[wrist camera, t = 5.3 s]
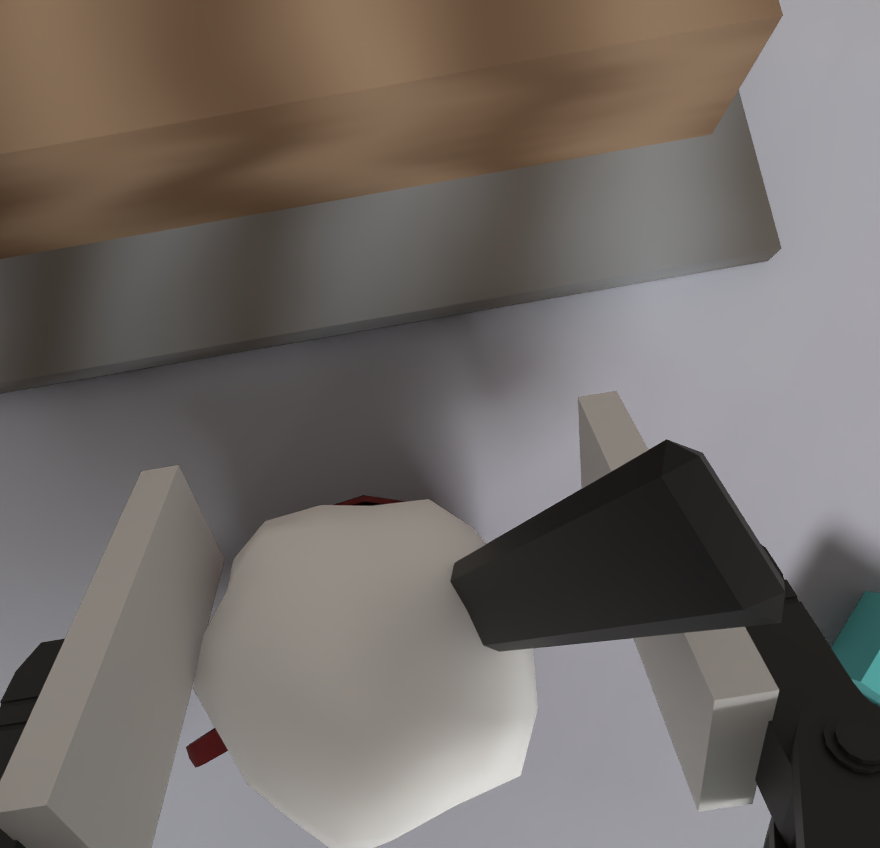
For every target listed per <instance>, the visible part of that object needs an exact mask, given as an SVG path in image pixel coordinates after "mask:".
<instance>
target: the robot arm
mask: <svg viewBox="0 0 880 848" xmlns="http://www.w3.org/2000/svg"><path fill="white" fill-rule="evenodd" d="M578 411H579V436H580V460H581V485H582V488H584V487H586V486H587V485H589V484H591V483H593V482H594V481H596V480H598V479H599V478H601V477H603V476H605V475H606V474H608V473H610V472H612V471H613V470H615V469H617V468H618V467H620V466H622V465H624V464H625V463H627V462H629V461H630V460H632V459H634V458H636V457H637V456H639V455H641V454H642V453H644V452H646V451H648V448H647V446H646V444H645V443H644V441H643V439H642V437H641V435H640V433H639V432H638V430H637V428H636V426H635V424H634V422H633V421H632V419H631V417H630V415H629V413H628V411H627V410H626V408H625V406H624V404H623V402H622V400H621V399H620V397H619V395H618V393H617V391H613V392H607V393H601V394H595V395H589V396H583V397H578ZM761 546H762V545H761ZM762 547H763V549H764V550H765V552H766V553H767V555H768V557H769V558H770V560H771V561H772V563H773V564H774V566H775V568H776V569H777V571H778V572H779V574H780V576H781V577H782V579H783V580H784V578H783V574H782V572H781V571H780V569H779V568H778V566H777V564H776V563H775V561H774V560H773V558H772V557H771V555H770V554H769V552H768V551H767V549H766V548H765V547H764V546H762ZM223 563H224V558H223V556H222V554H221V551H220V549H219V547H218V545H217V543H216V541H215V539H214V537H213V535H212V533H211V531H210V529H209V527H208V525H207V522H206V520H205V518H204V516H203V514H202V512H201V510H200V508H199V506H198V504H197V502H196V500H195V498H194V496H193V493H192V491H191V489H190V487H189V485H188V483H187V481H186V479H185V477H184V475H183V473H182V471H181V469H180V467H179V465H175V466H169V467H163V468H157V469H151V470H145V471H141V473H140V476H139V478H138V480H137V482H136V484H135V487H134V489H133V491H132V493H131V495H130V498H129V500H128V502H127V504H126V506H125V508H124V511H123V513H122V515H121V517H120V519H119V522H118V524H117V526H116V528H115V530H114V533H113V535H112V537H111V539H110V541H109V544H108V546H107V548H106V550H105V552H104V555H103V557H102V559H101V561H100V563H99V566H98V568H97V570H96V572H95V574H94V576H93V579H92V581H91V583H90V585H89V587H88V590H87V592H86V594H85V596H84V598H83V601H82V603H81V605H80V607H79V609H78V612H77V614H76V616H75V618H74V620H73V623H72V625H71V627H70V629H69V631H68V634H67V636H66V638H65V639H60V640H54V641H48V642H42V643H41V644H40V645H39V646H38V647H37V648H36V649H35V650H34V651H33V653H32V654H31V655H30V656H29V657H28V658H27V659H26V660H25V662H24V663H23V664H22V665H21V666H20V667H19V668H18V670H17V671H16V672H15V674H14V676H13V678H12V680H11V682H10V684H9V686H8V688H7V690H6V692H5V694H4V696H3V698H2V700H1V707H0V848H152V844H153V840H154V836H155V832H156V828H157V824H158V820H159V816H160V813H161V809H162V805H163V801H164V797H165V793H166V789H167V785H168V781H169V777H170V773H171V769H172V765H173V761H174V757H175V753H176V749H177V745H178V741H179V737H180V733H181V729H182V725H183V721H184V717H185V714H186V710H187V706H188V702H189V698H190V694H191V690H192V686H193V682H194V678H195V674H196V670H197V665H198V660H199V655H200V650H201V645H202V640H203V635H204V633H205V631H206V629H207V626H208V622H209V618H210V615H211V611H212V607H213V603H214V599H215V595H216V591H217V587H218V583H219V579H220V575H221V571H222V567H223ZM784 585H785V599H784V607H783V614H782V622H781V623H776V624H766V625H757V626H747V627H737V628H727V629H717V630H708V631H698V632H688V633H678V634H668V635H658V636H649V637H639V638H634V641H635V644H636V646H637V649H638V652H639V654H640V657H641V660H642V662H643V665H644V668H645V670H646V673H647V676H648V678H649V681H650V684H651V686H652V689H653V692H654V694H655V697H656V700H657V703H658V705H659V708H660V711H661V713H662V716H663V719H664V721H665V724H666V727H667V729H668V732H669V735H670V737H671V740H672V743H673V745H674V748H675V751H676V753H677V756H678V759H679V761H680V764H681V767H682V770H683V772H684V775H685V778H686V780H687V783H688V786H689V788H690V791H691V794H692V796H693V799H694V802H695V804H696V807H697V810H698V812H701V811H707V810H714V809H721V808H727V807H734V806H740V805H747V804H752V803H753V799H754V795H755V791H756V787H757V785H758V787H759V789H760V792H761V794H762V796H763V798H764V800H765V803H766V805H767V807H768V809H769V811H770V814H771V816H772V817H771V820H770V824H769V828H768V831H767V835H766V839H765V843H764V848H880V707H879V706H878V705H876V704H874V703H872V702H870V701H869V700H868V699H867V698H866V697H865V696H864V695H863V694H862V692H861V691H860V690H859V689H858V688H857V686H856V685H855V684H854V682H853V681H852V679H851V678H850V676H849V675H848V673H847V672H846V670H845V669H844V667H843V666H842V664H841V663H840V661H839V659H838V658H837V656H836V655H835V653H834V652H833V650H832V649H831V647H830V646H829V644H828V643H827V641H826V640H825V638H824V636H823V635H822V633H821V632H820V630H819V629H818V627H817V626H816V624H815V623H814V621H813V620H812V618H811V617H810V615H809V613H808V612H807V610H806V609H805V607H804V606H803V604H802V603H801V602H799V601H798V599H797V595H796V594H795V592H794V591H793V589H792V587H791V586H790V584H789V583H788V581H787V580H784Z"/></svg>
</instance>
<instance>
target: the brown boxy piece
mask: <svg viewBox="0 0 880 848" xmlns="http://www.w3.org/2000/svg"><path fill="white" fill-rule="evenodd" d="M782 16H783V14H782V11H781V7H780V4H779V0H0V393H4V392H10V391H16V390H22V389H27V388H33V387H39V386H45V385H51V384H56V383H62V382H68V381H74V380H80V379H85V378H91V377H97V376H103V375H109V374H114V373H120V372H126V371H132V370H138V369H143V368H149V367H155V366H161V365H167V364H172V363H178V362H184V361H190V360H196V359H201V358H207V357H213V356H219V355H225V354H230V353H236V352H242V351H248V350H254V349H259V348H265V347H271V346H277V345H283V344H288V343H294V342H300V341H306V340H312V339H317V338H323V337H329V336H335V335H341V334H346V333H352V332H358V331H364V330H370V329H375V328H381V327H387V326H393V325H399V324H405V323H410V322H416V321H422V320H428V319H434V318H439V317H445V316H451V315H457V314H463V313H468V312H474V311H480V310H486V309H492V308H497V307H503V306H509V305H515V304H521V303H526V302H532V301H538V300H544V299H550V298H555V297H561V296H567V295H573V294H579V293H584V292H590V291H596V290H602V289H608V288H613V287H619V286H625V285H631V284H637V283H642V282H648V281H654V280H660V279H666V278H671V277H677V276H683V275H689V274H695V273H700V272H706V271H712V270H718V269H724V268H729V267H735V266H741V265H747V264H753V263H758V262H764V261H768V260H769V259H770V258H772V257H773V256H774V255H775V254H776V253H777V252H778V251H779V250H780V249H781V246H780V242H779V238H778V234H777V231H776V227H775V223H774V220H773V216H772V212H771V208H770V205H769V201H768V197H767V194H766V190H765V186H764V183H763V179H762V175H761V171H760V168H759V164H758V160H757V157H756V153H755V149H754V146H753V142H752V138H751V134H750V131H749V127H748V123H747V120H746V116H745V112H744V109H743V105H742V101H741V97H740V94H739V88H740V86H741V85H742V83H743V81H744V80H745V78H746V76H747V74H748V73H749V71H750V69H751V68H752V66H753V64H754V63H755V61H756V59H757V58H758V56H759V54H760V53H761V51H762V49H763V48H764V46H765V44H766V43H767V41H768V39H769V37H770V36H771V34H772V32H773V31H774V29H775V27H776V26H777V24H778V22H779V21H780V19H781V17H782Z"/></svg>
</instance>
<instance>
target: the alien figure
mask: <svg viewBox="0 0 880 848" xmlns="http://www.w3.org/2000/svg"><path fill="white" fill-rule="evenodd" d="M831 649H832V650H833V652H834V653H835V655H836V656H837V658H838V659H839V661H840V663H841V664H842V666H843V667H844V669H845V670H846V672H847V673H848V675H849V676H850V678H851V679H852V681H853V682H854V684H855V685H856V686H857V688H858V689H859V690H860V691H861V692H862V694H863V695H864V696H865V697H866V698H867V699H868V700H869V701H870V702H872V703H874V704H876V705H878V706H879V707H880V593H875V592H868V591H865V592H864V594H863V596H862V597H861V599H860V601H859V602H858V604H857V606H856V607H855V609H854V611H853V612H852V614H851V616H850V617H849V619H848V621H847V622H846V624H845V626H844V627H843V629H842V631H841V632H840V634H839V636H838V637H837V639H836V641H835V642H834V644H833V646H832V647H831Z"/></svg>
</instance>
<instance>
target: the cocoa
mask: <svg viewBox="0 0 880 848" xmlns="http://www.w3.org/2000/svg"><path fill="white" fill-rule="evenodd" d="M784 599H785V585H784V580H783V579H782V577H781V576H780V574H779V572H778V571H777V569H776V568H775V566H774V564H773V563H772V561H771V560H770V558H769V557H768V555H767V553H766V552H765V550H764V549H763V547H762V546H761V544H760V542H759V541H758V539H757V538H756V536H755V535H754V533H753V531H752V530H751V528H750V527H749V525H748V524H747V522H746V520H745V519H744V517H743V516H742V514H741V512H740V511H739V509H738V508H737V506H736V505H735V503H734V501H733V500H732V498H731V497H730V495H729V494H728V492H727V490H726V489H725V487H724V486H723V484H722V483H721V481H720V479H719V478H718V476H717V475H716V473H715V472H714V470H713V468H712V467H711V465H710V464H709V462H708V460H707V459H706V457H705V456H704V454H703V453H702V452H699V451H696V450H693V449H691V448H688V447H685V446H683V445H680V444H677V443H675V442H672V441H669V440H665V441H663V442H661V443H660V444H658V445H656V446H655V447H653V448H651V449H649V450H648V451H646V452H644V453H642V454H641V455H639V456H637V457H636V458H634V459H632V460H630V461H629V462H627V463H625V464H624V465H622V466H620V467H618V468H617V469H615V470H613V471H612V472H610V473H608V474H606V475H605V476H603V477H601V478H599V479H598V480H596V481H594V482H593V483H591V484H589V485H587V486H586V487H584V488H582V489H581V490H579V491H577V492H575V493H574V494H572V495H570V496H569V497H567V498H565V499H563V500H562V501H560V502H558V503H556V504H555V505H553V506H551V507H550V508H548V509H546V510H544V511H543V512H541V513H539V514H538V515H536V516H534V517H532V518H531V519H529V520H527V521H525V522H524V523H522V524H520V525H519V526H517V527H515V528H513V529H512V530H510V531H508V532H507V533H505V534H503V535H501V536H500V537H498V538H496V539H495V540H493V541H491V542H489V543H488V544H486V543H485V542H484V541H483V539H482V538H481V537H480V536H479V535H478V534H477V532H476V531H475V530H474V529H473V528H472V527H471V526H469V525H468V524H466V523H465V522H463V521H462V520H460V519H458V518H457V517H455V516H454V515H452V514H451V513H449V512H448V511H446V510H445V509H443V508H442V507H440V506H439V505H437V504H436V503H434V502H433V501H431V500H429V499H425V500H417V501H408V502H406V501H399V500H392V499H385V498H378V497H372V496H365V495H363V496H360V497H357V498H353V499H350V500H347V501H344V502H341V503H338V504H335V505H319V506H316V507H312V508H309V509H305V510H302V511H298V512H295V513H291V514H288V515H284V516H281V517H277V518H274V519H270V520H267V521H265V522H264V523H263V524H262V525H261V526H260V528H259V529H258V530H257V531H256V533H255V534H254V535H253V536H252V537H251V539H250V540H249V541H248V542H247V543H246V545H245V546H244V547H243V548H242V549H241V551H240V552H239V553H238V554H237V555H236V557H235V558H234V559H233V563H232V568H231V573H230V577H229V582H228V587H227V591H226V593H225V595H224V597H223V599H222V601H221V602H220V604H219V606H218V608H217V610H216V612H215V614H214V616H213V618H212V620H211V622H210V623H209V625H208V627H207V629H206V631H205V633H204V635H203V640H202V645H201V650H200V655H199V660H198V665H197V670H196V675H195V680H194V686H193V689H194V691H195V693H196V695H197V696H198V698H199V700H200V702H201V704H202V705H203V707H204V709H205V711H206V712H207V714H208V716H209V718H210V720H211V721H212V723H213V725H214V727H215V728H214V729H212V730H211V731H209V732H208V733H206V734H205V735H203V736H201V737H200V738H198V739H197V740H195V741H194V742H192V743H191V744H189V745H188V746H187V747H186V749H187V752H188V755H189V759H190V760H191V762H192V763H193V765H194V766H195V767H199V766H201V765H203V764H205V763H207V762H209V761H210V760H212V759H214V758H216V757H217V756H219V755H221V754H223V753H225V752H226V751H229V753H230V755H231V756H232V758H233V760H234V761H235V763H236V765H237V767H238V768H239V770H240V772H241V774H242V775H243V777H244V779H245V781H246V782H247V784H248V785H249V786H250V787H251V788H253V789H254V790H255V791H256V792H258V793H259V794H260V795H261V796H262V797H264V798H265V799H266V800H267V801H268V802H270V803H271V804H272V805H273V806H274V807H276V808H277V809H278V810H279V811H280V812H282V813H283V814H284V815H285V816H287V817H288V818H289V819H291V820H292V821H293V822H295V823H296V824H298V825H299V826H300V827H302V828H303V829H304V830H306V831H307V832H308V833H310V834H311V835H313V836H314V837H315V838H317V839H318V840H319V841H321V842H322V843H323V844H325V845H326V846H328V847H329V848H375V847H377V846H379V845H382V844H384V843H386V842H389V841H391V840H394V839H396V838H397V837H399V836H401V835H403V834H405V833H407V832H408V831H410V830H412V829H414V828H416V827H417V826H419V825H421V824H423V823H425V822H427V821H428V820H430V819H432V818H434V817H436V816H437V815H439V814H441V813H443V812H445V811H447V810H448V809H450V808H452V807H454V806H456V805H458V804H460V803H462V802H464V801H467V800H469V799H471V798H473V797H475V796H478V795H480V794H482V793H484V792H486V791H488V790H491V789H493V788H495V787H497V786H499V785H502V784H504V783H506V782H508V781H510V780H513V779H515V778H517V777H519V776H521V772H522V768H523V764H524V761H525V757H526V753H527V749H528V745H529V741H530V737H531V734H532V730H533V726H534V722H535V718H536V714H537V711H538V703H537V690H536V678H535V665H534V653H533V648H541V647H550V646H560V645H570V644H580V643H590V642H599V641H609V640H619V639H629V638H639V637H649V636H658V635H668V634H678V633H688V632H698V631H708V630H717V629H727V628H737V627H747V626H757V625H766V624H776V623H781V622H782V614H783V607H784Z"/></svg>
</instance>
